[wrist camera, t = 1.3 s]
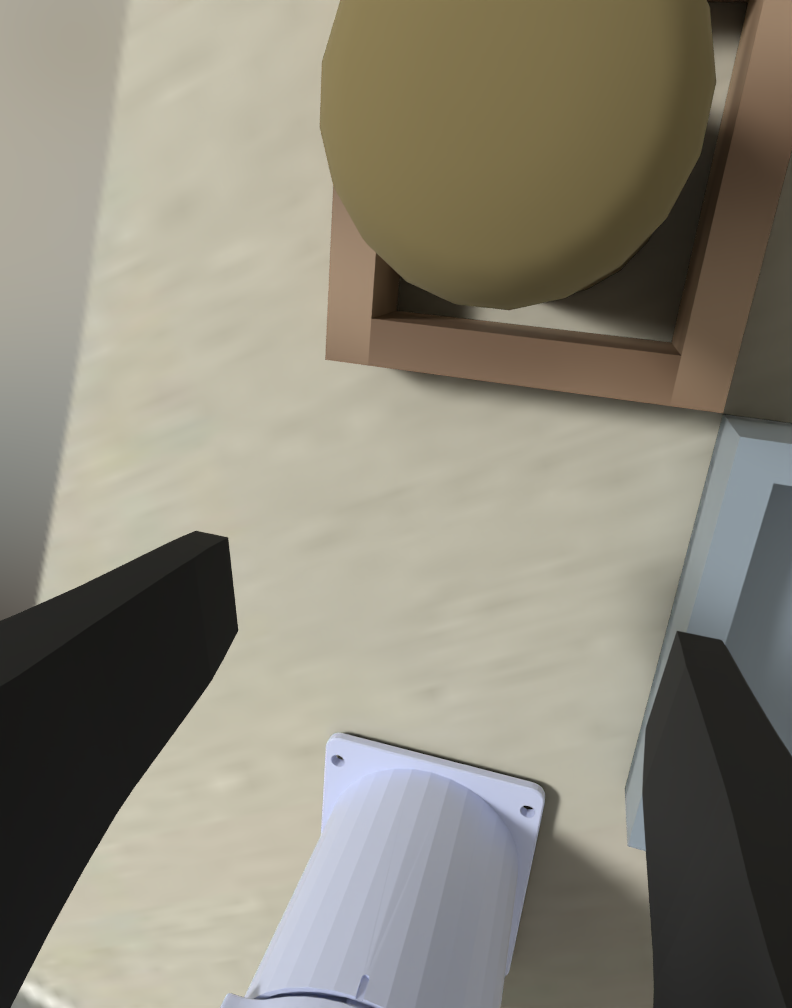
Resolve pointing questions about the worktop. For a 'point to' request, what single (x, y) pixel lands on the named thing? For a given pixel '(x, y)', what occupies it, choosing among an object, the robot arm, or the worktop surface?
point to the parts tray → (737, 578)
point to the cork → (513, 136)
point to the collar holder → (595, 357)
